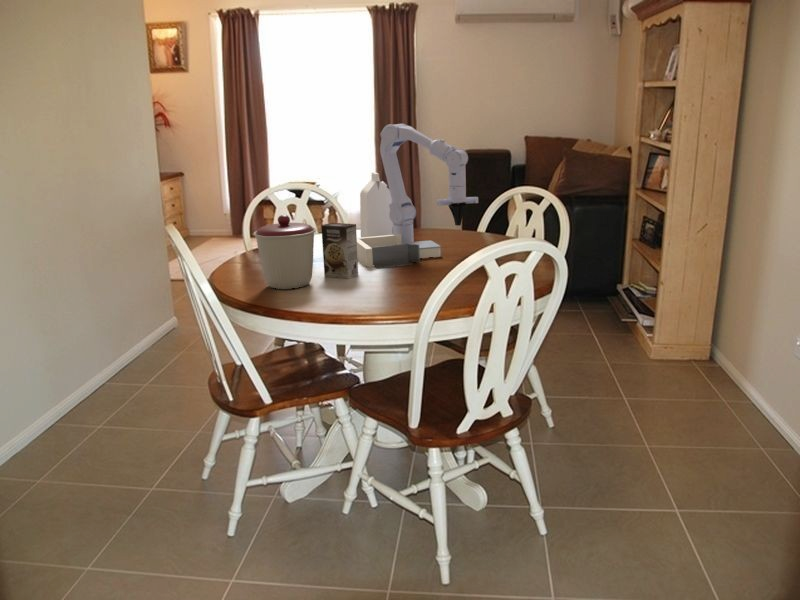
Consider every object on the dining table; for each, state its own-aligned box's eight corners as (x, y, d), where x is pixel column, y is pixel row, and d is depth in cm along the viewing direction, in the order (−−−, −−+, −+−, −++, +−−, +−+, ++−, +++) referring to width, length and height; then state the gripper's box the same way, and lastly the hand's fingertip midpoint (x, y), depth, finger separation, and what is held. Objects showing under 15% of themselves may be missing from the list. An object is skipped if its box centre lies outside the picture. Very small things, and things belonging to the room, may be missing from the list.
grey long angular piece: (371, 265, 234) (370, 247, 233) (417, 260, 238) (416, 242, 237) (375, 268, 229) (374, 250, 227) (422, 263, 233) (421, 245, 231)
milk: (360, 239, 282) (357, 172, 275) (388, 236, 284) (385, 170, 277) (367, 244, 270) (363, 175, 263) (396, 241, 273) (393, 173, 266)
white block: (406, 253, 252) (406, 242, 251) (431, 251, 254) (431, 240, 253) (416, 260, 241) (415, 248, 240) (441, 257, 243) (441, 246, 242)
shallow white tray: (352, 254, 252) (351, 237, 251) (401, 250, 257) (400, 233, 255) (367, 267, 232) (366, 249, 230) (419, 262, 236) (418, 244, 235)
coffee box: (323, 276, 221) (320, 225, 217) (334, 272, 227) (331, 222, 222) (348, 279, 217) (345, 226, 213) (359, 274, 222) (356, 223, 218)
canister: (246, 287, 211) (239, 217, 206) (293, 275, 224) (288, 209, 219) (284, 296, 200) (278, 222, 194) (332, 283, 212) (327, 213, 207)
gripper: (441, 188, 238) (441, 228, 242) (481, 185, 242) (481, 225, 245) (434, 186, 245) (435, 225, 248) (474, 183, 248) (474, 222, 252)
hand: (457, 225), depth 247 cm, fingers closed
